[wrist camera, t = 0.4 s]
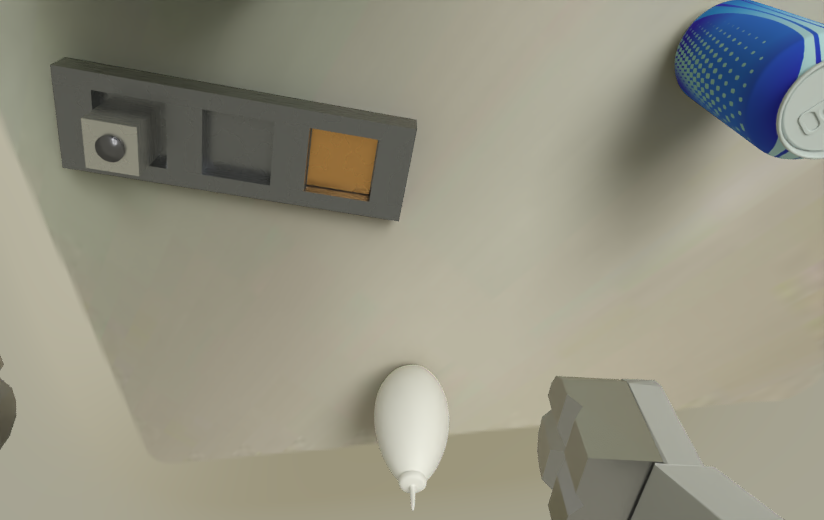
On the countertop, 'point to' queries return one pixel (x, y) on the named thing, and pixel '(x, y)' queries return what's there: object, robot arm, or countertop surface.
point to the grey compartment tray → (248, 140)
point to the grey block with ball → (122, 136)
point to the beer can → (758, 75)
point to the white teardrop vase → (411, 425)
